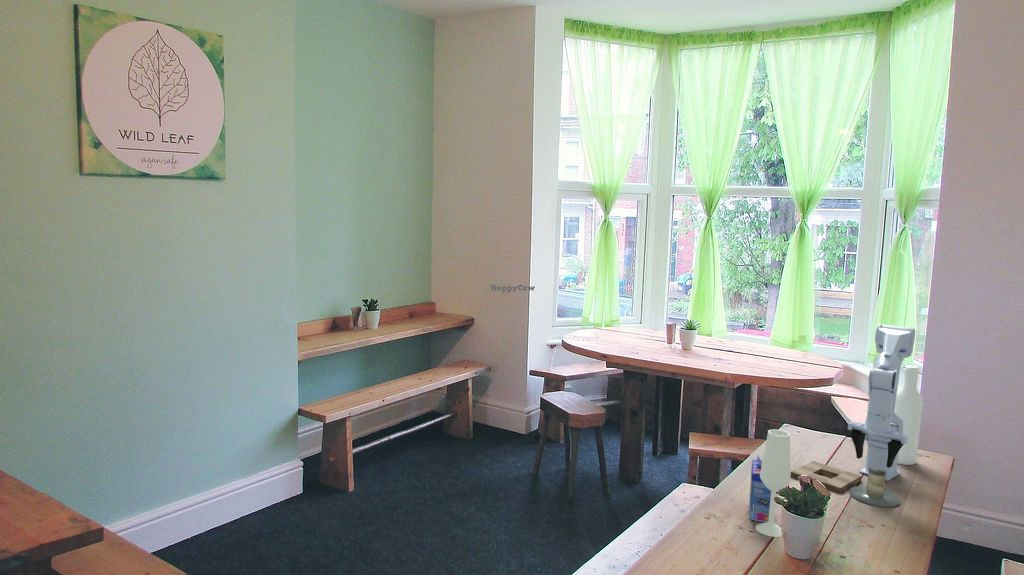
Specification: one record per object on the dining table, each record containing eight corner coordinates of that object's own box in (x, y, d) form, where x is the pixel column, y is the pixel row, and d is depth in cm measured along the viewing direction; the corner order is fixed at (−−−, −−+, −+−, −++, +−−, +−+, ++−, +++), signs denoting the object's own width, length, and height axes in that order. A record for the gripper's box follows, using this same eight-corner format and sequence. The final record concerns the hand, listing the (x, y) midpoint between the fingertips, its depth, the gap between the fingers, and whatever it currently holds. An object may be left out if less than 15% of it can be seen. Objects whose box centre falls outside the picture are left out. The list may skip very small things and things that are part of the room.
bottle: (886, 461, 209) (897, 367, 206) (886, 453, 216) (896, 362, 213) (916, 467, 206) (927, 371, 202) (915, 459, 212) (926, 366, 209)
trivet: (860, 484, 191) (860, 482, 190) (906, 499, 182) (907, 497, 182) (842, 495, 183) (842, 493, 183) (889, 511, 174) (889, 509, 174)
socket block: (812, 465, 204) (813, 460, 203) (861, 480, 193) (861, 475, 193) (790, 476, 194) (790, 471, 194) (839, 493, 184) (840, 487, 184)
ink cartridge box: (747, 503, 175) (752, 450, 173) (770, 507, 173) (775, 453, 172) (748, 520, 166) (752, 463, 164) (772, 524, 164) (777, 467, 162)
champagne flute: (783, 525, 164) (791, 429, 161) (787, 538, 157) (796, 439, 154) (753, 521, 165) (762, 426, 162) (757, 534, 159) (765, 435, 156)
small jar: (869, 490, 185) (871, 466, 184) (885, 495, 182) (888, 470, 181) (863, 494, 182) (866, 469, 181) (880, 499, 179) (883, 474, 178)
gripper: (845, 409, 184) (840, 457, 185) (903, 423, 173) (897, 474, 175) (855, 404, 188) (851, 451, 190) (913, 418, 178) (907, 467, 179)
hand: (874, 462), depth 183 cm, fingers open, 7 cm apart
